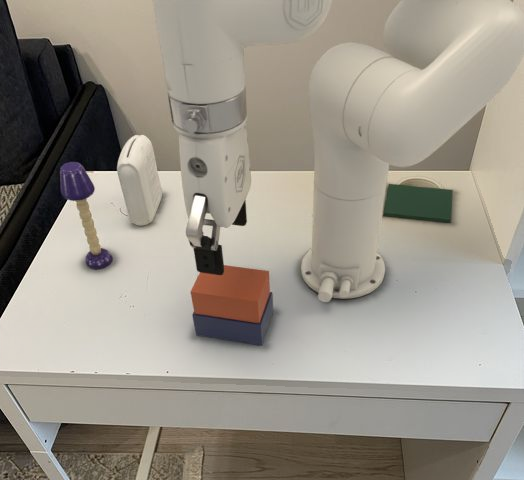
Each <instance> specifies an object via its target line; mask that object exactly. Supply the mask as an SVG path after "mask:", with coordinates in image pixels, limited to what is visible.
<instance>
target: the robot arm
mask: <svg viewBox="0 0 524 480" xmlns="http://www.w3.org/2000/svg"><path fill="white" fill-rule="evenodd" d="M332 3H333V0H152V4H153V11H154V17H155V23H156V30H157V37H158V42H159V48H160V54H161V60H162V66H163V72H164V80H165V85H166V91H167V99H168V105H169V112H170V118H171V125H172V128H173V129H174V131H175V132H177V133H178V149H179V164H180V165H179V167H180V175H181V185H182V195H183V201H184V206H185V211H186V215H187V219H188V220H187V223H186V227H185V236H186V238H187V239H188V243H189V245H190V247H191V248H192V249H193V253H194V254H193V255H194V260H195V267H196V271H197V272H199V273H200V272H201V273H208V274H214V275H223V273H224V265H225V263H224V254H223V245H222V244H219V241H220V234H221V228H225V229H228V228H229V227H231V226H239V227H245V226H246V225H247V223H248V217H247V216H248V215H247V202H246V199H247V196H248V194H249V192H250V190H251V186H252V169H251V168H252V167H251V158H250V157H251V156H250V148H249V141H248V131H247V122H248V109H247V92H246V91H247V89H246V75H245V74H246V73H245V53H244V49H245V48H247V47H259V46H279V45H288V44H293V43H297V42H300V41H302V40H304V39H306V38H308V37H309V36H311V35H312V34H314V33H315V32H316V31H317V30H319V28H320V27H321V26H322V24H323V23H324V21H325V20H326V18H327V16H328V14H329V13H330V9H331V7H332ZM382 41H383V46H384V49H385V51H383V50H380V49H378V48H376V47H373V46H371V45H368V44H365V43H360V42H343V43H339V44H336V45H333V46H332V47H331V48H329V49H327V51H325V52H324V53H323V54H322V55H321V56H320V57H319V59H318V60H317V62H316V63H315V64H314V66H313V69H312V71H311V74H310V78H309V82H308V87H307V106H308V107H307V108H308V115H309V119H310V126H311V132H312V139H313V155H314V156H313V158H314V159H313V160H314V161H313V163H314V164H313V190H312V191H313V194H312V195H313V196H312V197H313V200H312V230H311V231H312V232H311V248H310V249H309V250H307V252H306V253H305V254H304V256H303V257H302V260H301V263H300V274H301V277H302V279H303V281H304V282H305V284H306V285H307V286H308V287H309V288H310V289H312V291H315V292H316V293H318V294H317V299H318V300H319V301H320V302H322V303H329V302H330V301H331V300H332V298H333V299H345V300H346V299H355V298H359V297H363V296H366V295H368V294H370V293H372V292H374V291H375V290H376V289H378V288H379V287H380V286H381V284H382V283H383V280H384V279H385V274H386V264H385V261H384V259H383V257H382V256H381V255H380V253H378V250H379V242H380V235H381V228H382V222H383V221H382V220H383V213H384V207H385V201H386V194H387V187H388V186H387V185H388V178H389V171H390V166H393V167H396V168H397V167H398V168H407V167H412V166H414V165H417V164H419V163H421V162H422V161H424V160H426V159H427V158H428V157H430V156H431V155H432V154H434V152H436V151H437V150H438V149H439V148H440V147H442V146H443V145H444V144H445V143H446V142H447V141H448V140H449V139H451V138H452V137H453V136H454V135H455V134H456V133H457V132H458V131H459V130H460V129H461V128H463V127H464V126H465V125H466V124H467V123H468V122H469V121H470V120H472V118H473V117H475V116H476V115H477V114H478V113H479V112H480V111H481V110H483V108H484V107H486V106H487V105H488V104H489V103H490V102H491V101H492V100H493V99H494V98H495V97H496V96H497V95H498V94H499V93H500V92H501V91H502V90H503V89H504V88H505V87H506V85H507V84H508V83H509V81H511V78H513V75H514V74H515V73H516V71H517V69H518V67H519V66H520V64H521V61H522V60H523V57H524V11H523V10H522V9H521V7H520V6H519V5H517V4H516V3H515V2H513V1H511V0H400V1H399V2H398V3H397V4H396V6H395V7H394V9H392V11H391V13H390V14H389V15H388V18H387V19H386V22H385V24H384V28H383V35H382ZM207 214H209V215H210V216H211V217H212V219H208V218H206V215H207ZM203 226H208V227H212V228H211V229H212V230H211V237H209V236H208V235H204V231H203V229H204V228H203Z"/></svg>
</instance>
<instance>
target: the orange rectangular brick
mask: <svg viewBox="0 0 524 480" xmlns="http://www.w3.org/2000/svg"><path fill="white" fill-rule="evenodd" d="M270 280H271V279H270V270H265V269H257V268H250V267H243V266H237V265H227V264H224V273H223V275H214V274H208V273H201V272H199V273H198V276H196V280H195V282H194V283H193V286H192V288H191V290H190V292H189V293H190V297H191V302H192V303H191V304H192V308H193V312H194V313H195V314H200V315H207V316H214V317H220V318H227V319H233V320H240V321H247V322H253V323H260V320H261V317H262V315H263V312H264V309H265V306H266V303H267V300H268V298H269V295H270V292H271V283H270Z"/></svg>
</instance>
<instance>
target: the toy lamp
mask: <svg viewBox="0 0 524 480" xmlns="http://www.w3.org/2000/svg"><path fill="white" fill-rule="evenodd" d="M59 174H60V175H59V176H60V194H61V196H62V197H63V199H65V200H68V201H71V202H75V204H76V209H77V211H78V215H79V218H80V219H81V225H82V228H83V230H84V235H85V237H86V242H87V244H88V248H89V251H88V252H87V254H86V255H85V265H86V267H88V268H89V269H92V270H101V269H104V268H107V267H108V266H110V265H111V263H113V260H114V259H113V255H112V254H111V252H110V251H109V250H108V249H106V248H104V247H101V245H100V241H99V237H98V235H97V234H98V233H97V228H96V227H95V221H94V219H93V215H92V212H91V210H90V204H89V202H88V201H87V200H88V198H91V196H93V195H94V193H95V190H96V188H95V184H94V183H93V181H92V179H91V178H90V176H89V174H88V173H87V170H86V169H85V168H84V165H82V164H81V163H80V162H77V161H70V162H69V161H68V162H66V163H64V164H63V165H62V166H61V167H60V172H59Z"/></svg>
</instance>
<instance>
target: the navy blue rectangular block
mask: <svg viewBox="0 0 524 480" xmlns="http://www.w3.org/2000/svg"><path fill="white" fill-rule="evenodd" d="M273 295H274V294H273V291H270V295H269V298H268V300H267V303H266V306H265V309H264V312H263V315H262V317H261V320H260V323H253V322H247V321H240V320H233V319H227V318H220V317H214V316H207V315H200V314H195V313H194V311H193V313H192V315H191V316H192V320H193V325H194V331H195V335H196V336H200V337H206V338H212V339H220V340H224V341H231V342H236V343H243V344H249V345H257V346H263V344H264V341H265V338H266V335H267V332H268V330H269V328H270V327H269V326H270V323H271V320H272V318H273V315H274V299H273Z"/></svg>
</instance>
